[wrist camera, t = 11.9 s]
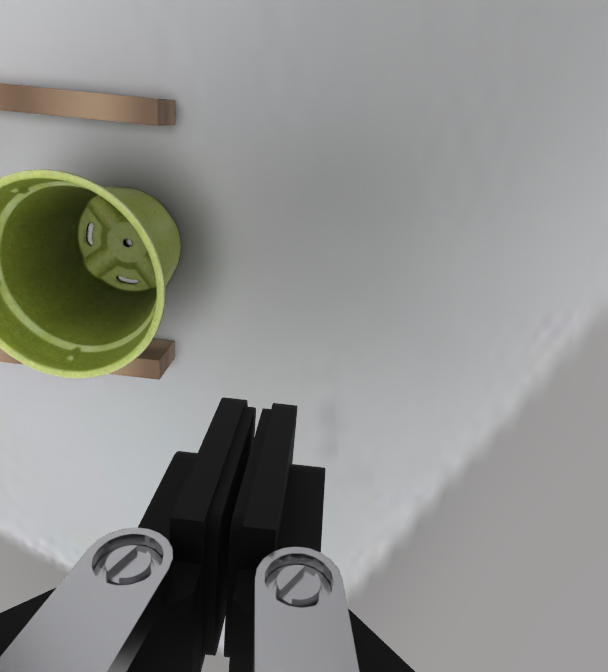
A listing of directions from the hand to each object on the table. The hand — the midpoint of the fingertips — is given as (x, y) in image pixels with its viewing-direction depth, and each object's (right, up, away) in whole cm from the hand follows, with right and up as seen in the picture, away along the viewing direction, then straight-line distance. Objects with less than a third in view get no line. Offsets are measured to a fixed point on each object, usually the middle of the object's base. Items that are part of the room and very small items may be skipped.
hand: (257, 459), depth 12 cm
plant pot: (-9, +8, +20) cm, 24 cm away
